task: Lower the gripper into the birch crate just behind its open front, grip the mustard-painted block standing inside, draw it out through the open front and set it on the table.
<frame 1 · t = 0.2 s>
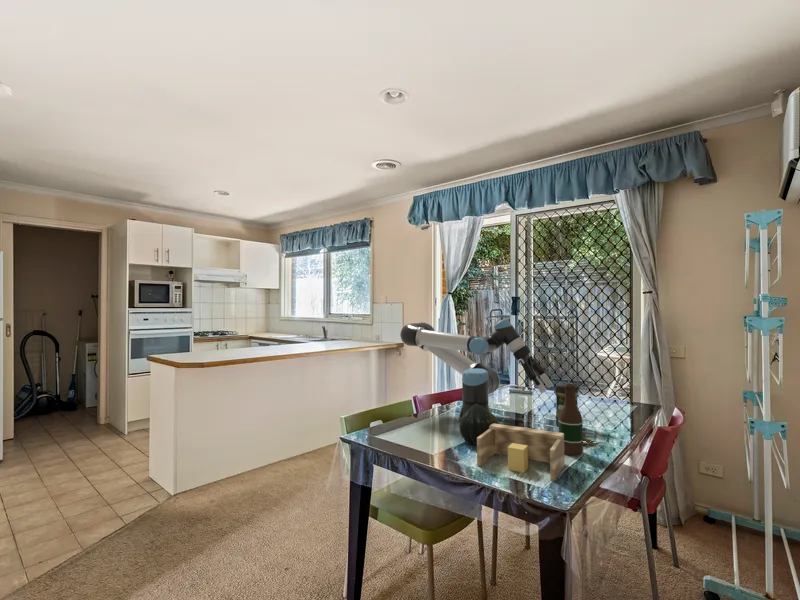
hand: (547, 389, 185), 15 cm above the table, tool tilted 35°, fingers open, 13 cm apart
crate: (521, 464, 135), on the table
squash: (478, 443, 158), on the table
block: (518, 468, 132), on the table
lily flower: (582, 444, 158), on the table
beer bottle: (571, 453, 147), on the table
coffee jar: (567, 427, 180), on the table
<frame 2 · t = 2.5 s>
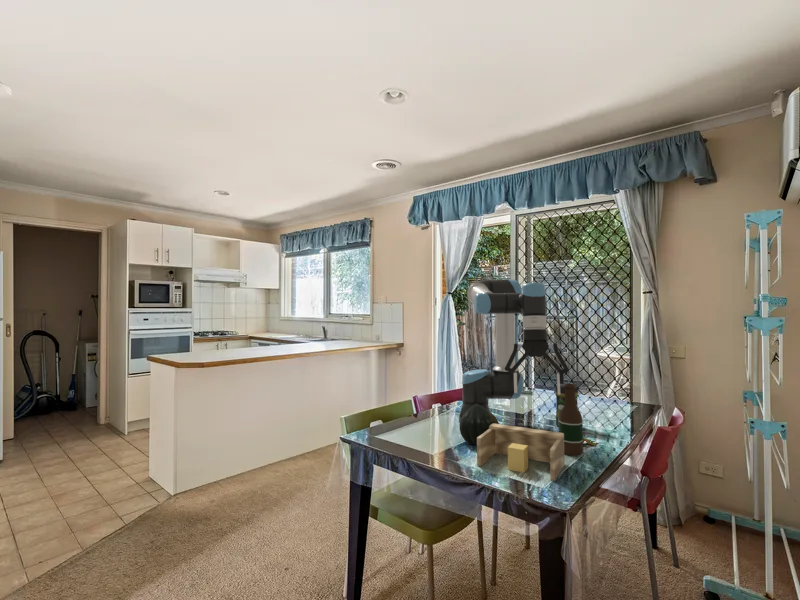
hand: (537, 393, 137), 23 cm above the table, tool pointing down, fingers open, 13 cm apart
nothing on the table moved.
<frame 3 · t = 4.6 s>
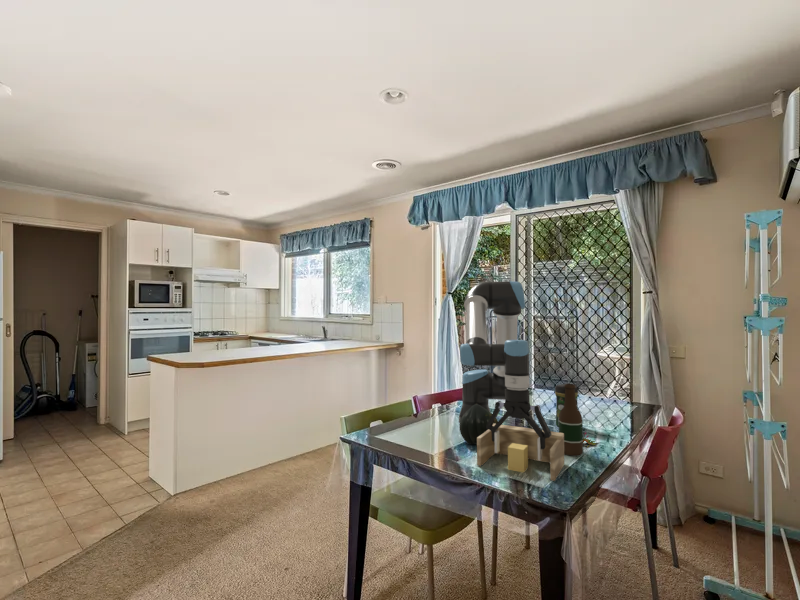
hand: (518, 455, 132), 4 cm above the table, tool pointing down, fingers open, 13 cm apart
nothing on the table moved.
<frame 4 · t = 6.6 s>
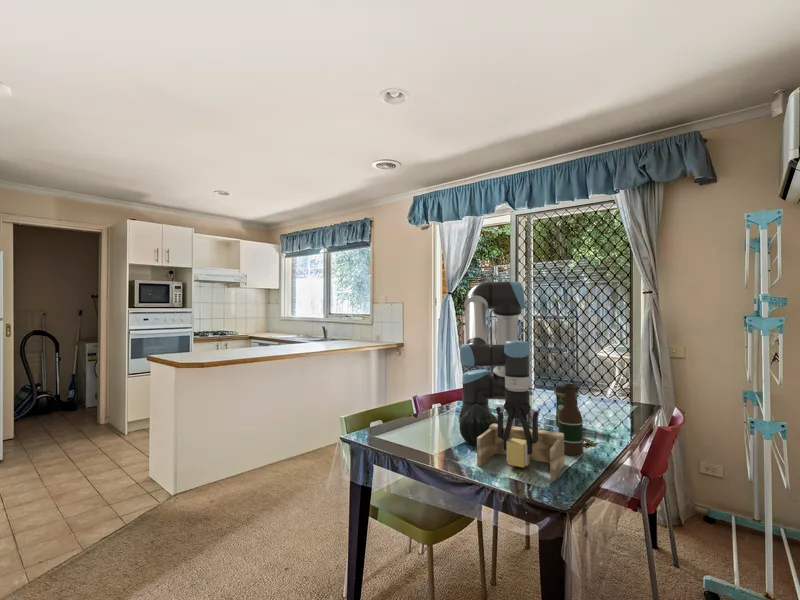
hand: (517, 462, 132), 2 cm above the table, tool pointing down, fingers closed on block, 5 cm apart
block: (518, 463, 132), point 1 cm above the table, touching gripper
everything else where it was.
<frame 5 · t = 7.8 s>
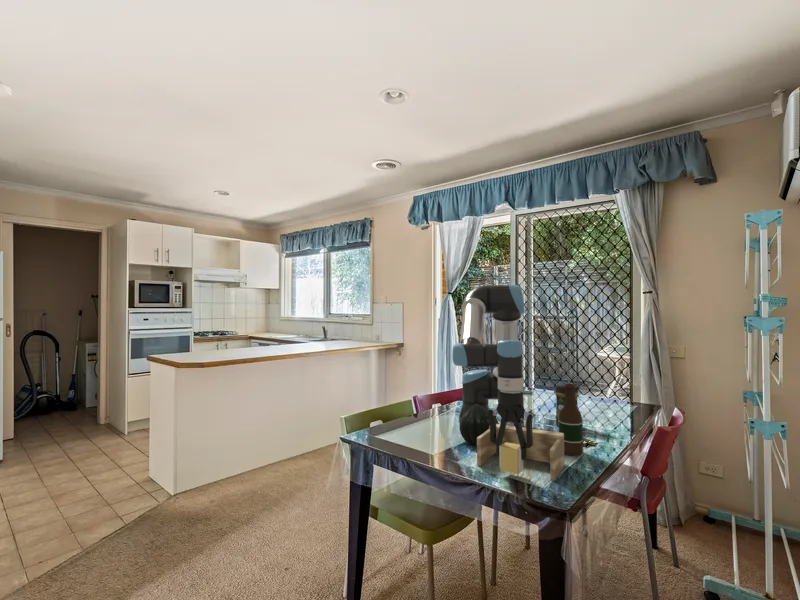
hand: (511, 468, 126), 3 cm above the table, tool pointing down, fingers closed on block, 5 cm apart
block: (511, 469, 126), point 2 cm above the table, touching gripper
everything else where it was.
when the fingers open (0 cm above the table, at t = 8.9 s): block stays where it is, on the table.
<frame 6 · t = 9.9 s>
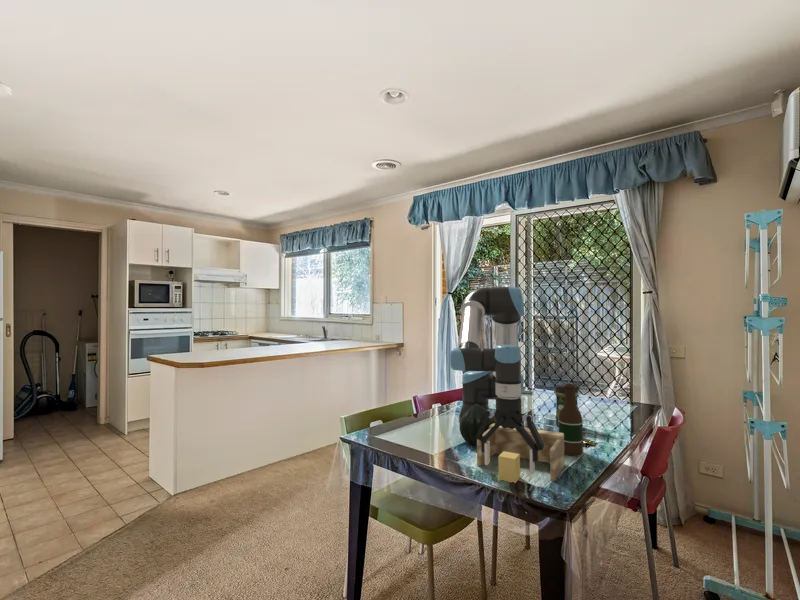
hand: (509, 467, 124), 3 cm above the table, tool pointing down, fingers open, 13 cm apart
block: (509, 478, 124), on the table
everything else where it was.
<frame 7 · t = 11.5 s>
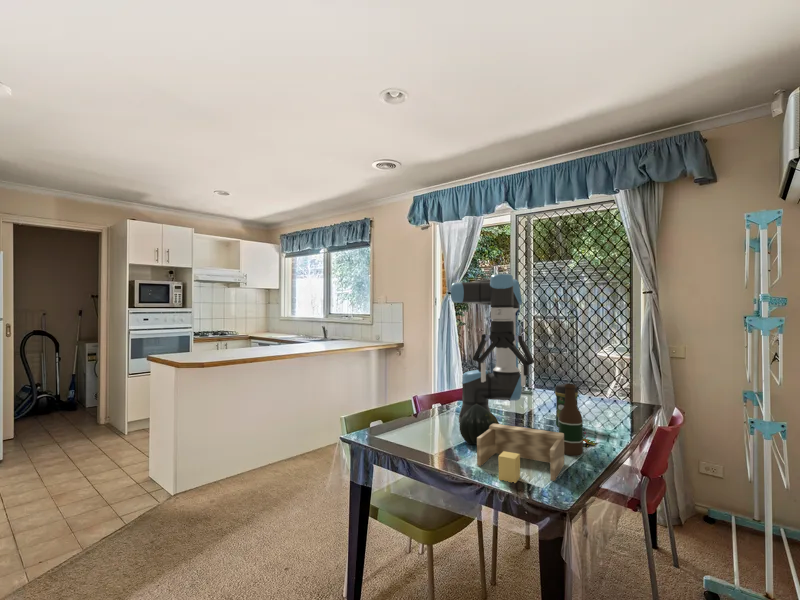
hand: (502, 383, 139), 26 cm above the table, tool pointing down, fingers open, 13 cm apart
nothing on the table moved.
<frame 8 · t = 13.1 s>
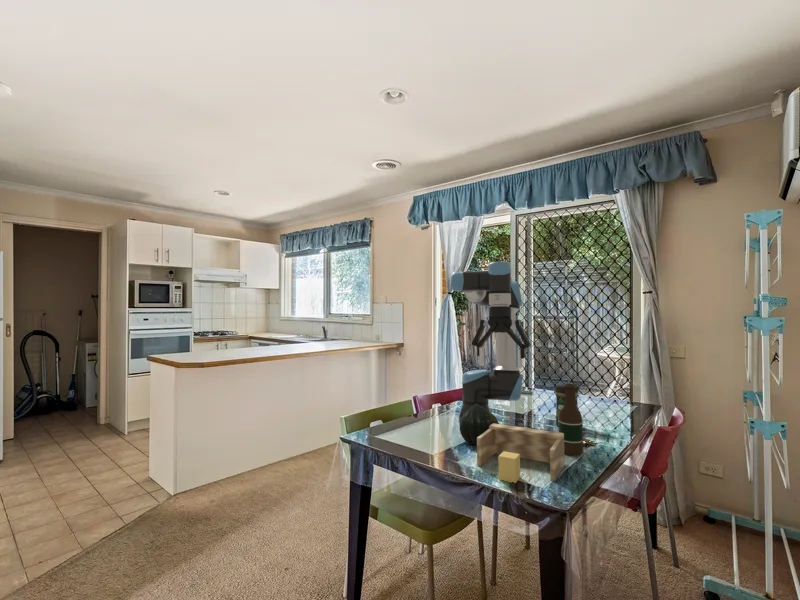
hand: (500, 366, 144), 31 cm above the table, tool pointing down, fingers open, 13 cm apart
nothing on the table moved.
at the end: block inside the target area (0.9 cm from its centre), on the table; the gripper is holding nothing; block tilted 0° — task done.
